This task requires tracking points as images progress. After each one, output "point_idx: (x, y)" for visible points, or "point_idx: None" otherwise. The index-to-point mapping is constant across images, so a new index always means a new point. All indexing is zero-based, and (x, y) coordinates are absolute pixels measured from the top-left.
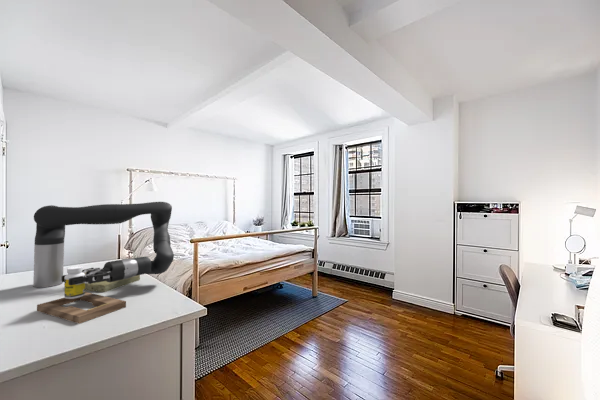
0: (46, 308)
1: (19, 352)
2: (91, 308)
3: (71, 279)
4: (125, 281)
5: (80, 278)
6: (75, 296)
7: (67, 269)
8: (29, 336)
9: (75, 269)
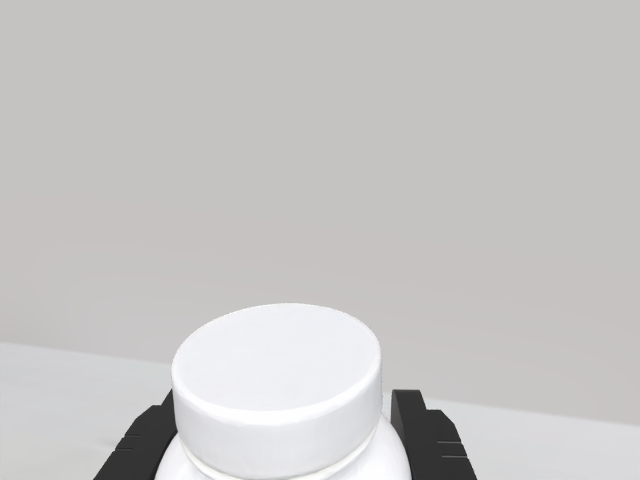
0: None
1: (19, 363)
2: None
3: (170, 402)
4: None
5: (99, 474)
6: None
7: (292, 309)
8: (94, 396)
9: (189, 341)
